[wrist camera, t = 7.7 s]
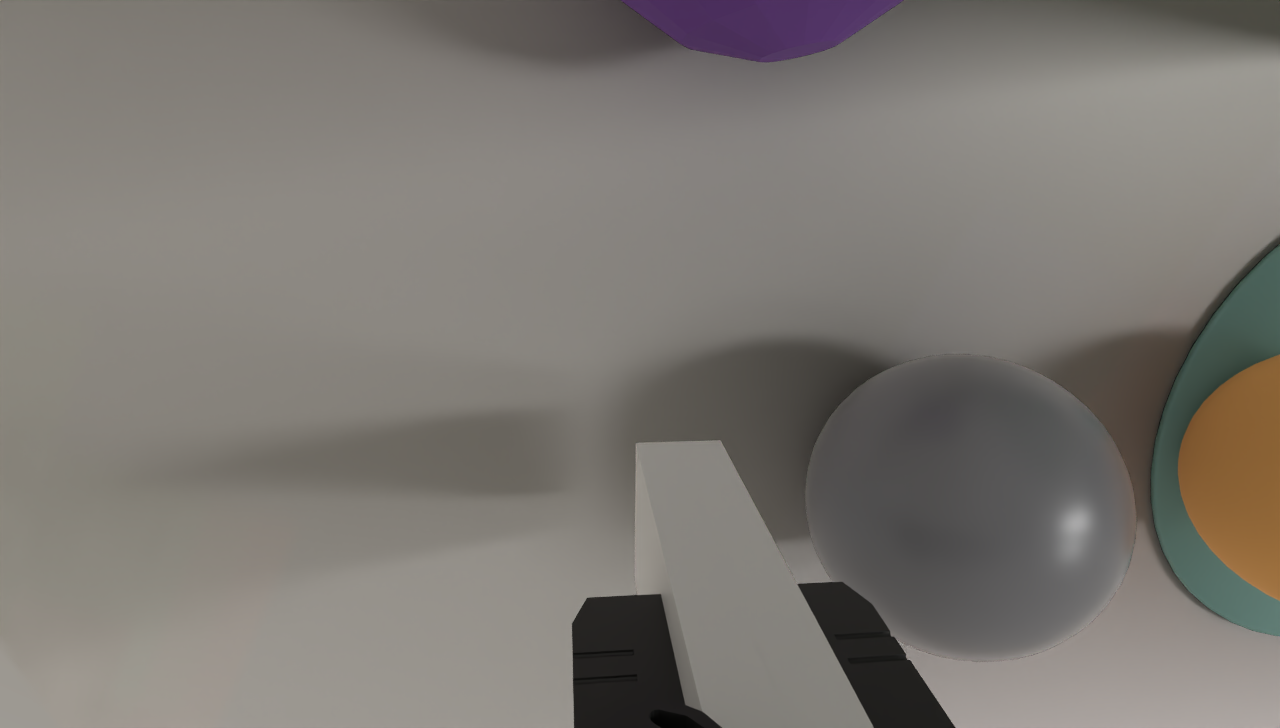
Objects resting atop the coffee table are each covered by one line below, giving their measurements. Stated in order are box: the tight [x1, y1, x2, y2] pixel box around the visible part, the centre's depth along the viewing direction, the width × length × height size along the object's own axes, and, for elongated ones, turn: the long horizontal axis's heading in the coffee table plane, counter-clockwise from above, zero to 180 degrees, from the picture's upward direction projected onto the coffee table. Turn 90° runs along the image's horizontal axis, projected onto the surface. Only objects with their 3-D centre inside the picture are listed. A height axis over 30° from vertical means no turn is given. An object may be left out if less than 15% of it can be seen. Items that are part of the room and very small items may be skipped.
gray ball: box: [805, 354, 1137, 662], centre depth 13 cm, size 6×6×6 cm
